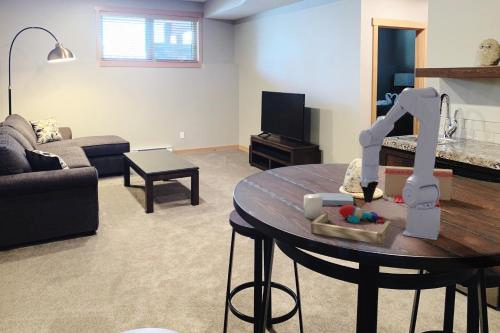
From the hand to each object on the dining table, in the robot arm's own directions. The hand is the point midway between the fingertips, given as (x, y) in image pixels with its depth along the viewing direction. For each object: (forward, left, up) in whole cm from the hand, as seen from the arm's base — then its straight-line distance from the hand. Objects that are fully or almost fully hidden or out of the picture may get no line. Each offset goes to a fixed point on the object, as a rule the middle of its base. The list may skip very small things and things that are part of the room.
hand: (368, 202), depth 154 cm
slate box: (+15, -7, -4) cm, 17 cm away
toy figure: (0, +9, -4) cm, 10 cm away
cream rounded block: (+16, +13, -4) cm, 21 cm away
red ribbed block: (-13, -24, -4) cm, 27 cm away
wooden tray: (0, +22, -4) cm, 22 cm away
